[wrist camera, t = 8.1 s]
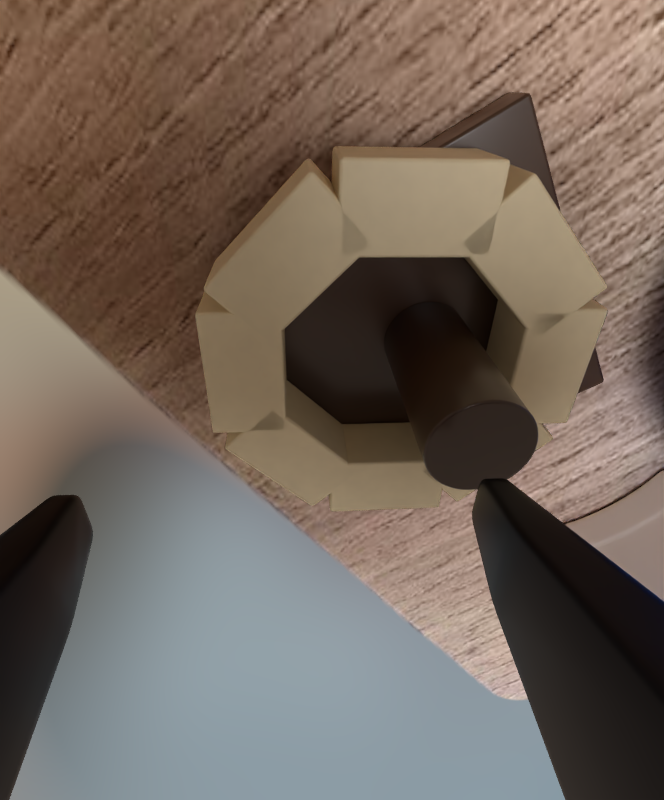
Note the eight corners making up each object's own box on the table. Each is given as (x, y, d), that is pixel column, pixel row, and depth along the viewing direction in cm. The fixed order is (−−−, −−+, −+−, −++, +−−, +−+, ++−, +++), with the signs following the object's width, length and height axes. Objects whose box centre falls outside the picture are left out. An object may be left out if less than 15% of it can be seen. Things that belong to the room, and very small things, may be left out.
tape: (140, 343, 13) (118, 380, 12) (417, 34, 10) (443, 25, 8) (371, 509, 18) (380, 552, 16) (618, 336, 14) (661, 369, 13)
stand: (211, 272, 14) (162, 389, 8) (510, 90, 12) (686, 97, 6) (355, 470, 18) (380, 622, 13) (586, 363, 16) (722, 494, 11)
